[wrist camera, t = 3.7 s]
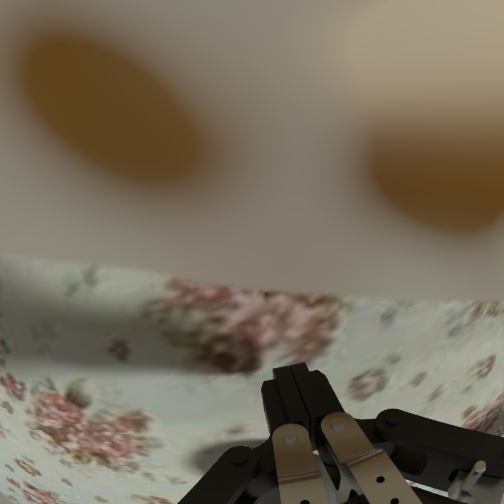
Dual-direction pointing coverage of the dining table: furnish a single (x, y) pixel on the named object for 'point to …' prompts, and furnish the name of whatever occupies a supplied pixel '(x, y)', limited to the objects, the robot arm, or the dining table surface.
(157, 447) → the dining table surface
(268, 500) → the charcoal ball
